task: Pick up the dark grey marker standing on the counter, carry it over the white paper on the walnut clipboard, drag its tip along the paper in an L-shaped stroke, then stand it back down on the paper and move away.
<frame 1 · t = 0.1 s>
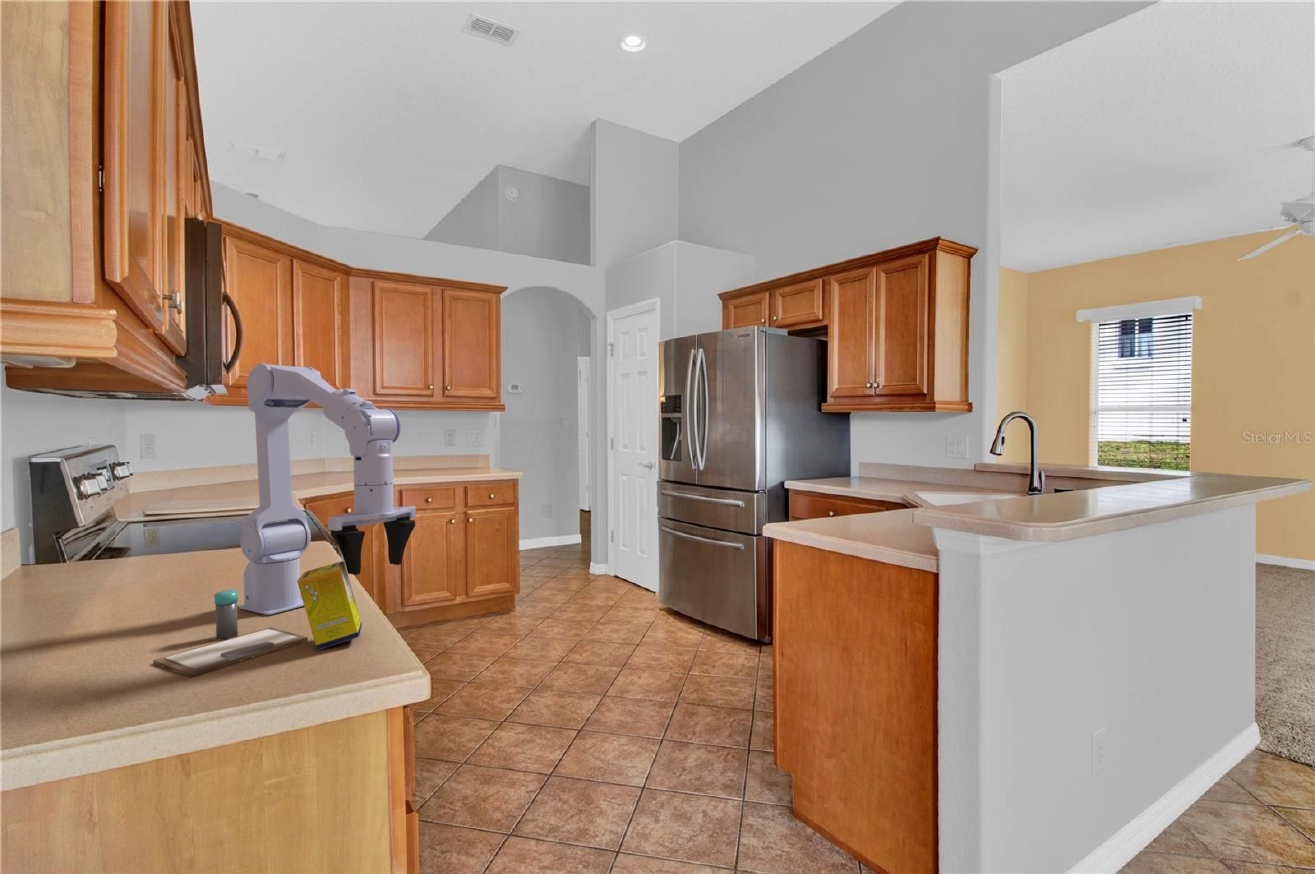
hand: (375, 568, 101), 10 cm above the table, tool pointing down, fingers open, 7 cm apart
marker: (227, 636, 99), on the table
supplement box: (340, 639, 96), on the table
clipboard: (234, 651, 93), on the table
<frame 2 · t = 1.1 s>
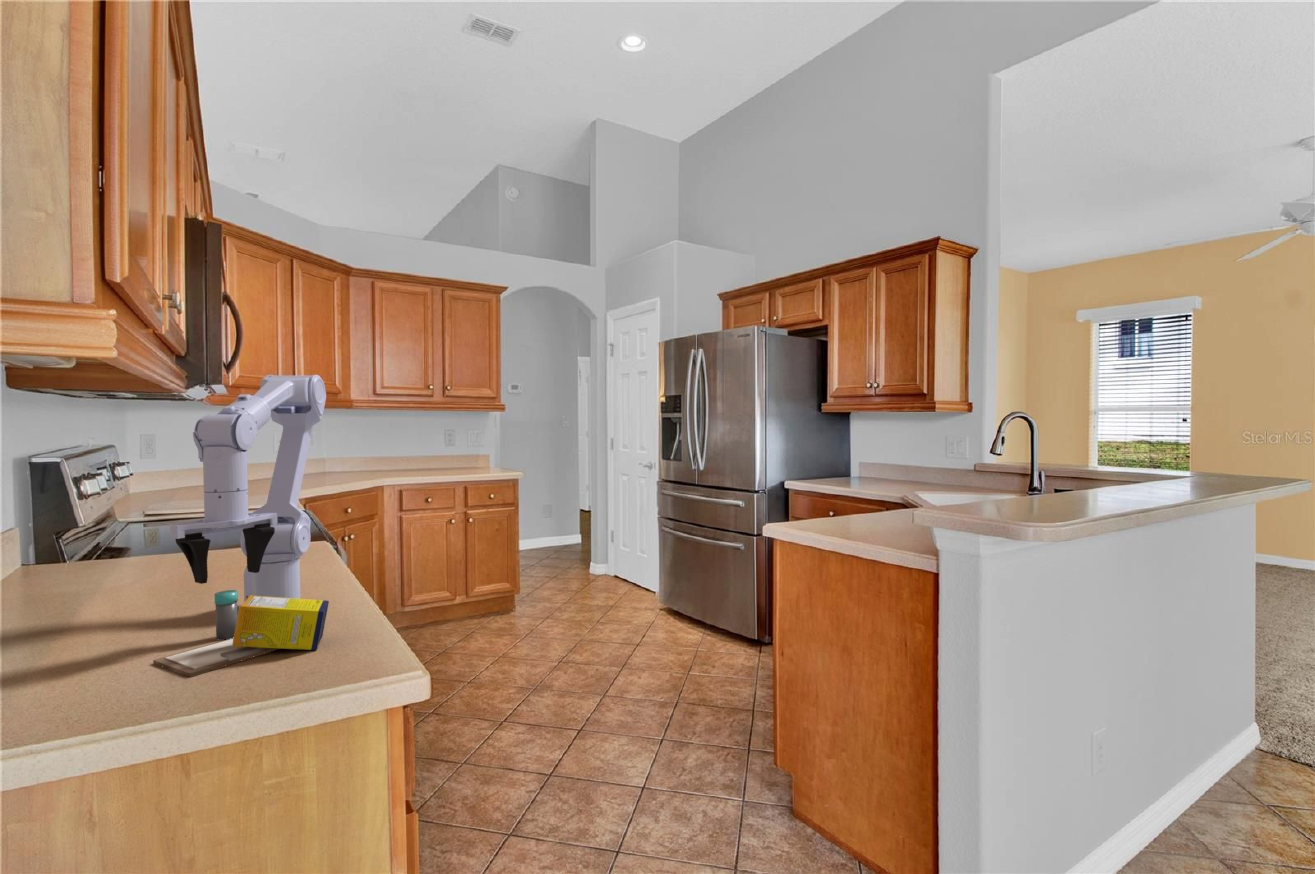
hand: (228, 577, 99), 9 cm above the table, tool pointing down, fingers open, 7 cm apart
supplement box: (325, 625, 96), point 3 cm above the table, touching clipboard
everything else where it was.
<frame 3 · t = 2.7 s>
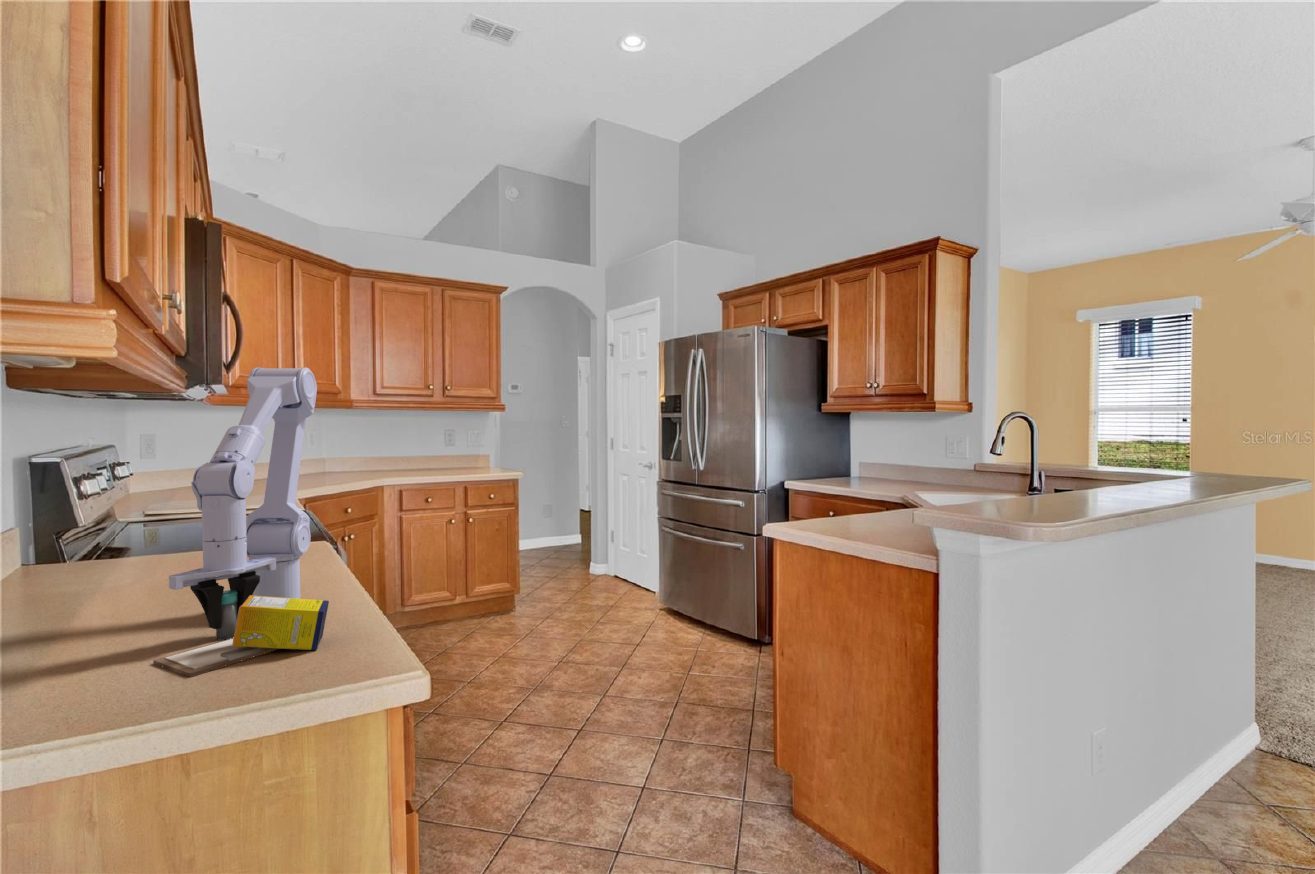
hand: (226, 624, 99), 2 cm above the table, tool pointing down, fingers closed on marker, 3 cm apart
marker: (227, 636, 99), on the table, touching gripper
everything else where it was.
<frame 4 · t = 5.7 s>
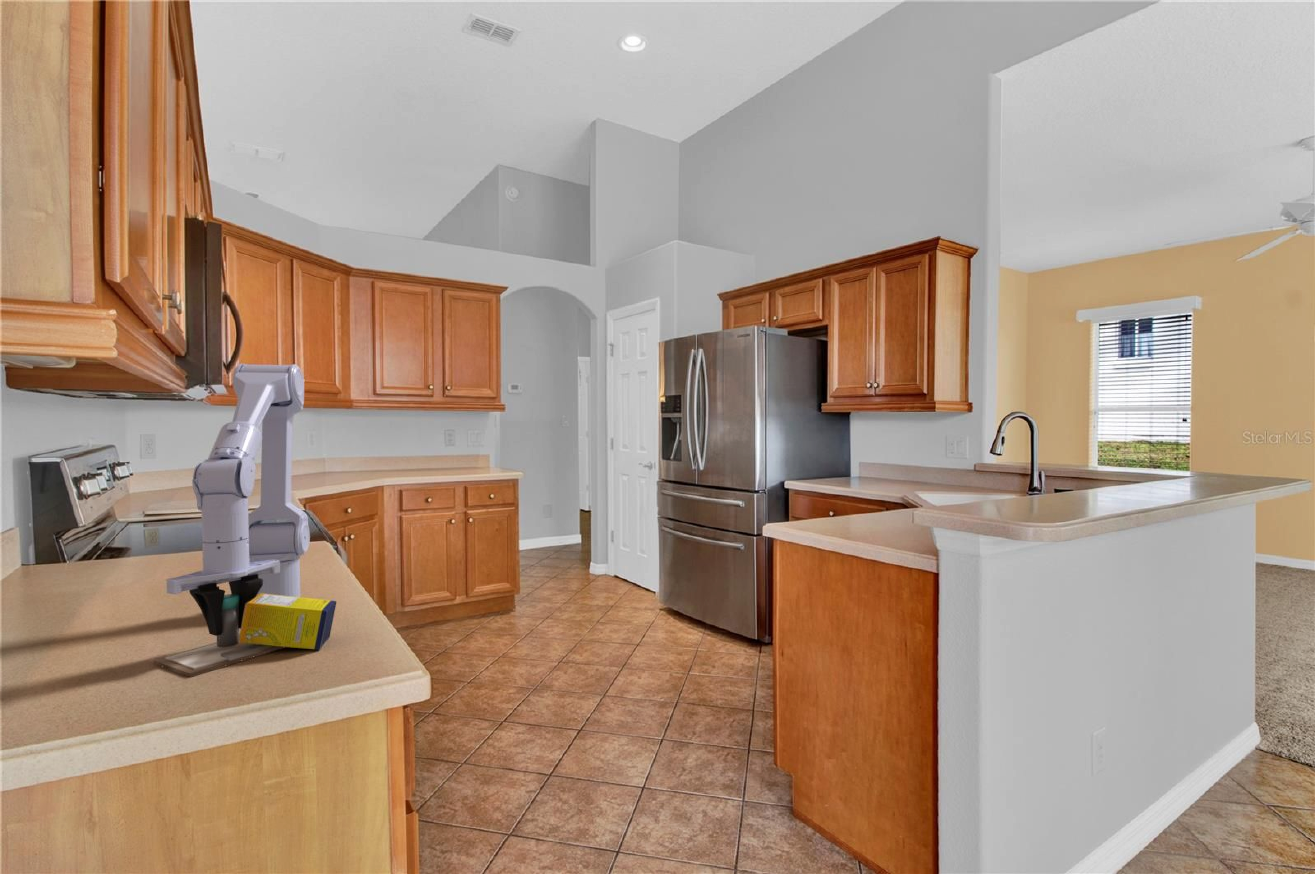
hand: (228, 630, 94), 3 cm above the table, tool pointing down, fingers closed on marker, 3 cm apart
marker: (228, 643, 94), point 1 cm above the table, touching gripper
supplement box: (330, 625, 96), point 3 cm above the table, touching gripper
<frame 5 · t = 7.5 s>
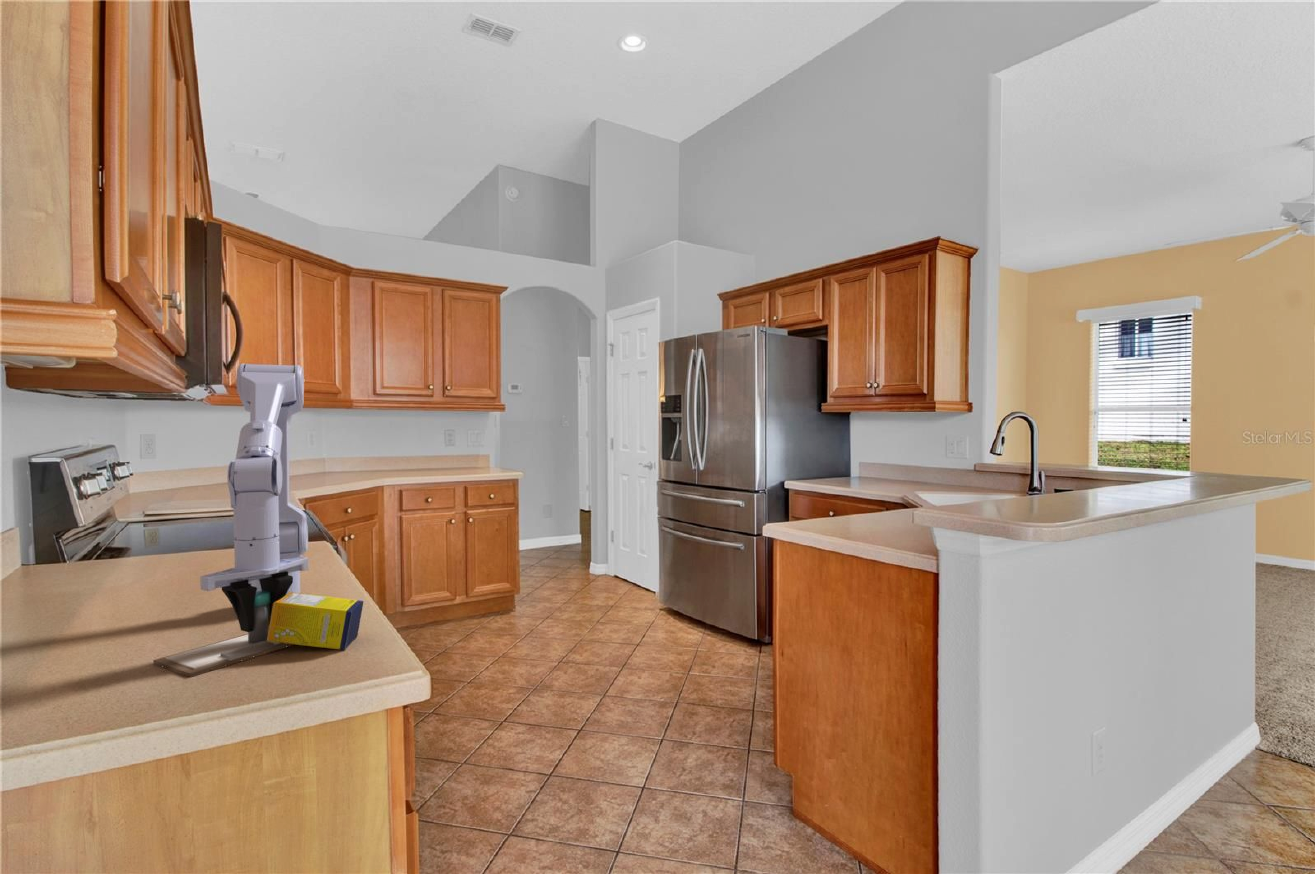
hand: (258, 627, 95), 3 cm above the table, tool pointing down, fingers closed on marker, 3 cm apart
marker: (259, 640, 95), point 1 cm above the table, touching gripper
supplement box: (356, 625, 96), point 3 cm above the table, touching gripper
when the fingers open (3 cm above the table, at t = 7.8 s): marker stays where it is, resting on clipboard.
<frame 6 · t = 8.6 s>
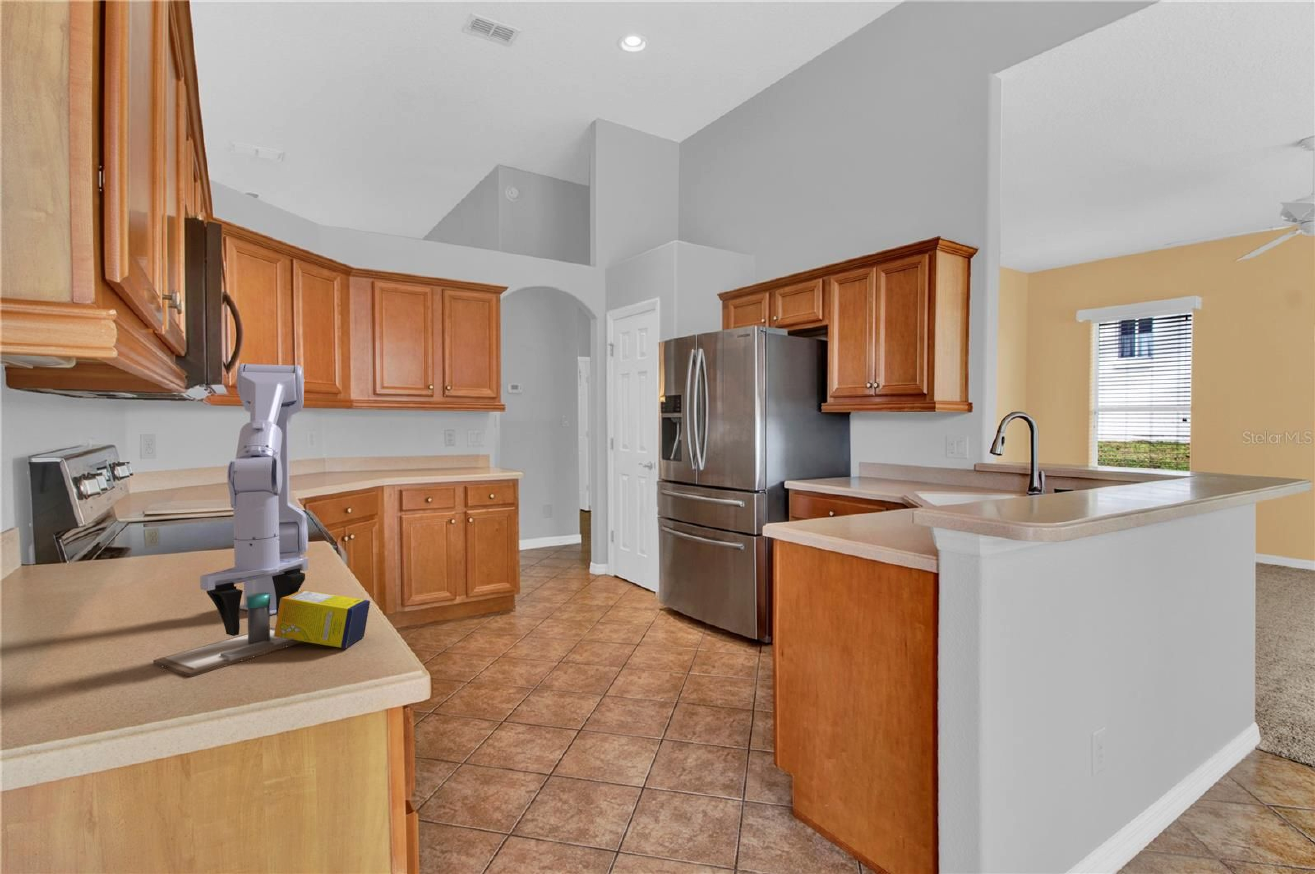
hand: (258, 627, 95), 3 cm above the table, tool pointing down, fingers open, 7 cm apart
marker: (259, 641, 95), point 1 cm above the table, touching clipboard
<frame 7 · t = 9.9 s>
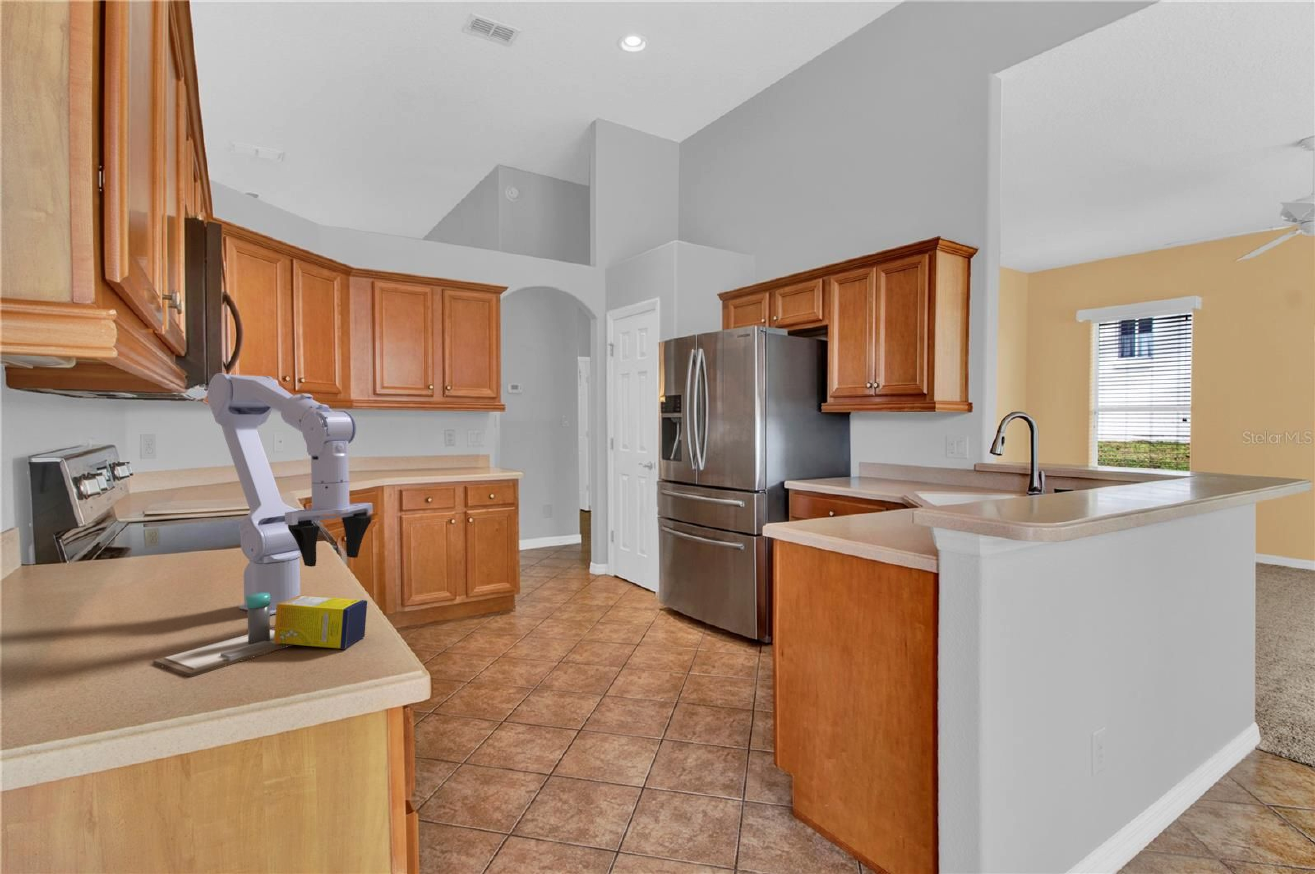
hand: (331, 561, 108), 10 cm above the table, tool pointing down, fingers open, 7 cm apart
supplement box: (358, 624, 95), point 3 cm above the table, touching clipboard
everything else where it was.
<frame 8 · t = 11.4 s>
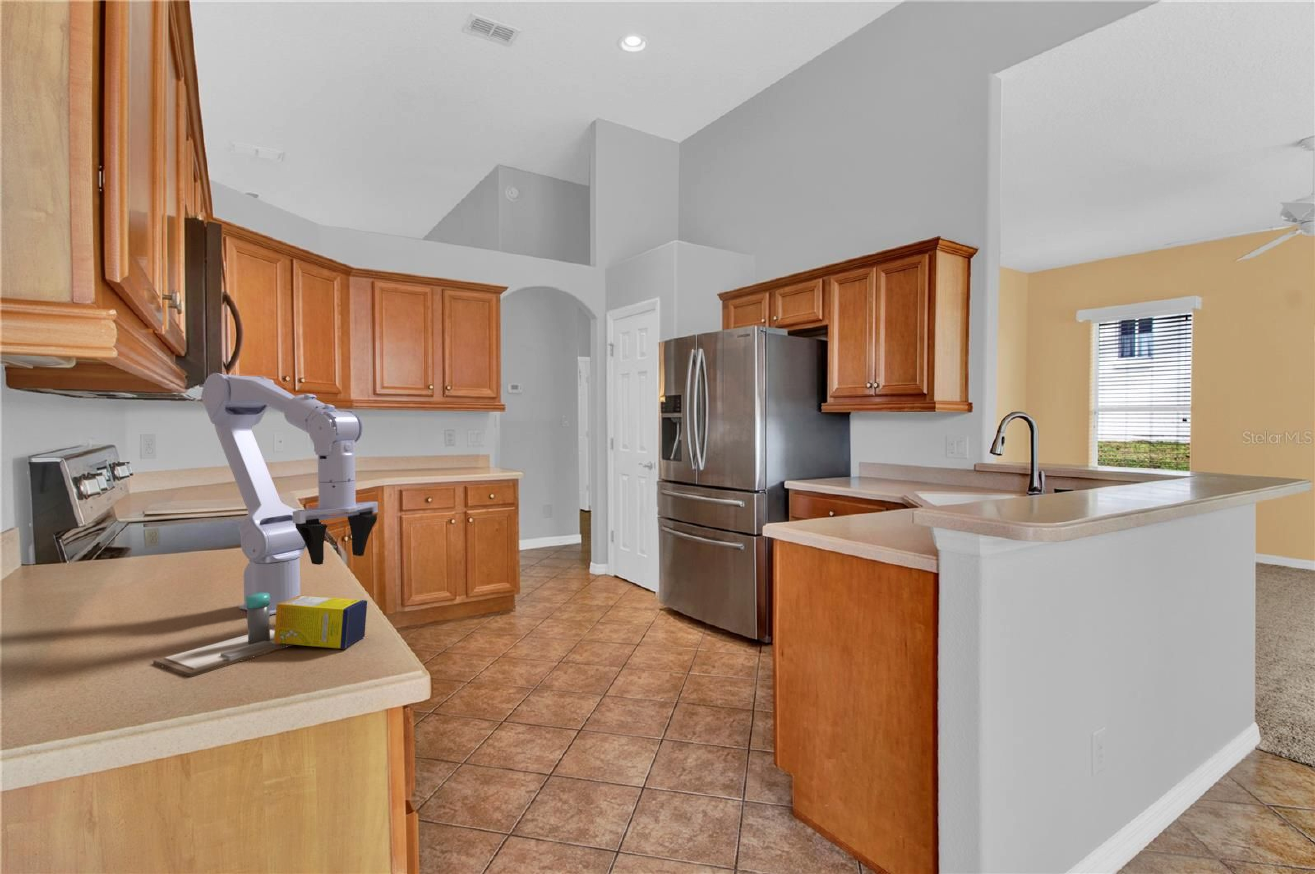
hand: (338, 559, 109), 10 cm above the table, tool pointing down, fingers open, 7 cm apart
nothing on the table moved.
at the end: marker inside the target area (3.2 cm from its centre), point 0.7 cm above the table; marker tilted 1°; the gripper is holding nothing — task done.
